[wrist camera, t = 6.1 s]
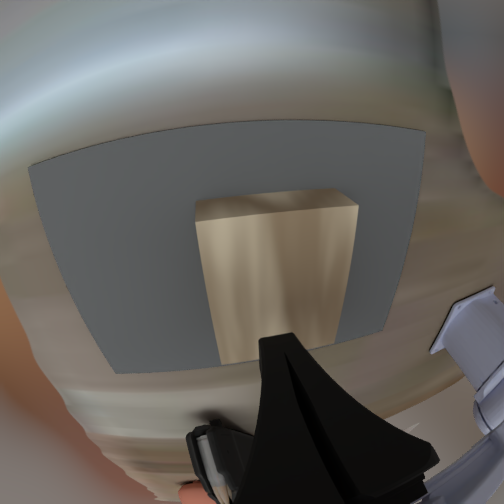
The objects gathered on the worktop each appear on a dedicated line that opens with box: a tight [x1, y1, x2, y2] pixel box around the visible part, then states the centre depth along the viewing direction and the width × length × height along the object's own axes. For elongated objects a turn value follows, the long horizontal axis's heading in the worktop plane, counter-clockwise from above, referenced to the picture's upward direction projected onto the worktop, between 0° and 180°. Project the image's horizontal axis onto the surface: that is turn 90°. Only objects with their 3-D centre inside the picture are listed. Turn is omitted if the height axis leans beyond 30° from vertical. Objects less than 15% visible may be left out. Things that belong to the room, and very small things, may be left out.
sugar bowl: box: [178, 481, 216, 504], centre depth 38 cm, size 12×14×10 cm
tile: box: [195, 188, 359, 365], centre depth 14 cm, size 2×9×7 cm
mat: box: [28, 120, 426, 374], centre depth 15 cm, size 22×16×1 cm
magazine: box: [186, 419, 254, 504], centre depth 26 cm, size 17×3×30 cm
